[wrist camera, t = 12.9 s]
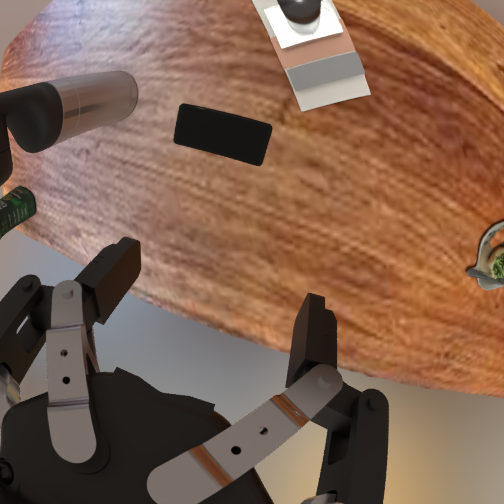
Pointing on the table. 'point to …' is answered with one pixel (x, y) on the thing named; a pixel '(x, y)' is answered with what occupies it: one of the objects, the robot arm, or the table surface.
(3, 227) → the coffee jar
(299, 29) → the press jaw
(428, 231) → the table surface
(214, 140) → the smartphone
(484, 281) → the salad plate
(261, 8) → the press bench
